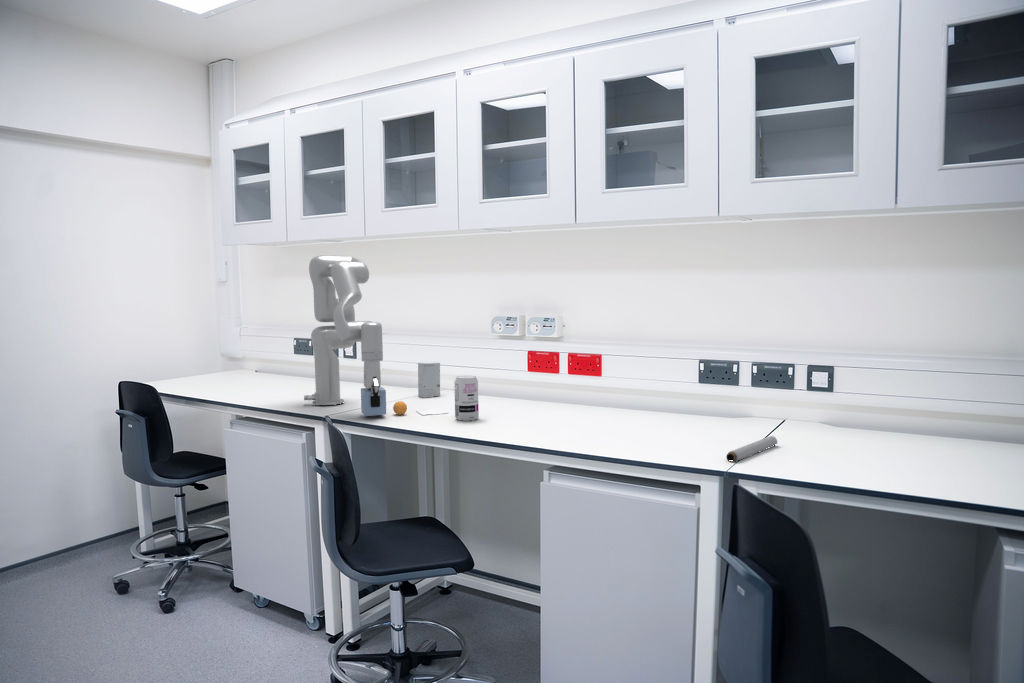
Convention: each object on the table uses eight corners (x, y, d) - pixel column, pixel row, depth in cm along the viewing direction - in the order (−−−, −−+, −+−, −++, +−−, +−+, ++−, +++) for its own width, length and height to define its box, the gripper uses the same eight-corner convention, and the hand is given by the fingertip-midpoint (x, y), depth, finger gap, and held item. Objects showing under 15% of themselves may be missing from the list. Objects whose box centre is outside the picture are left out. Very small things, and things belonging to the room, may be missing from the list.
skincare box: (422, 398, 279) (421, 363, 278) (417, 396, 284) (416, 362, 283) (441, 396, 283) (440, 362, 281) (436, 394, 288) (435, 360, 287)
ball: (394, 416, 239) (394, 402, 239) (392, 414, 244) (391, 400, 244) (408, 415, 241) (408, 401, 241) (405, 413, 246) (405, 399, 245)
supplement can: (465, 416, 239) (464, 374, 238) (483, 418, 234) (482, 376, 233) (450, 419, 232) (449, 377, 231) (468, 422, 227) (468, 379, 226)
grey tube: (735, 464, 171) (777, 447, 188) (736, 453, 171) (777, 436, 188) (725, 462, 173) (767, 445, 190) (725, 451, 173) (767, 435, 190)
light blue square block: (364, 416, 234) (363, 391, 233) (361, 412, 241) (360, 388, 241) (386, 414, 237) (385, 390, 236) (382, 410, 244) (382, 387, 243)
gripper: (358, 355, 244) (359, 402, 246) (365, 359, 228) (366, 409, 229) (378, 354, 247) (380, 400, 248) (386, 358, 231) (388, 408, 232)
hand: (373, 404), depth 239 cm, fingers closed on light blue square block, 7 cm apart
